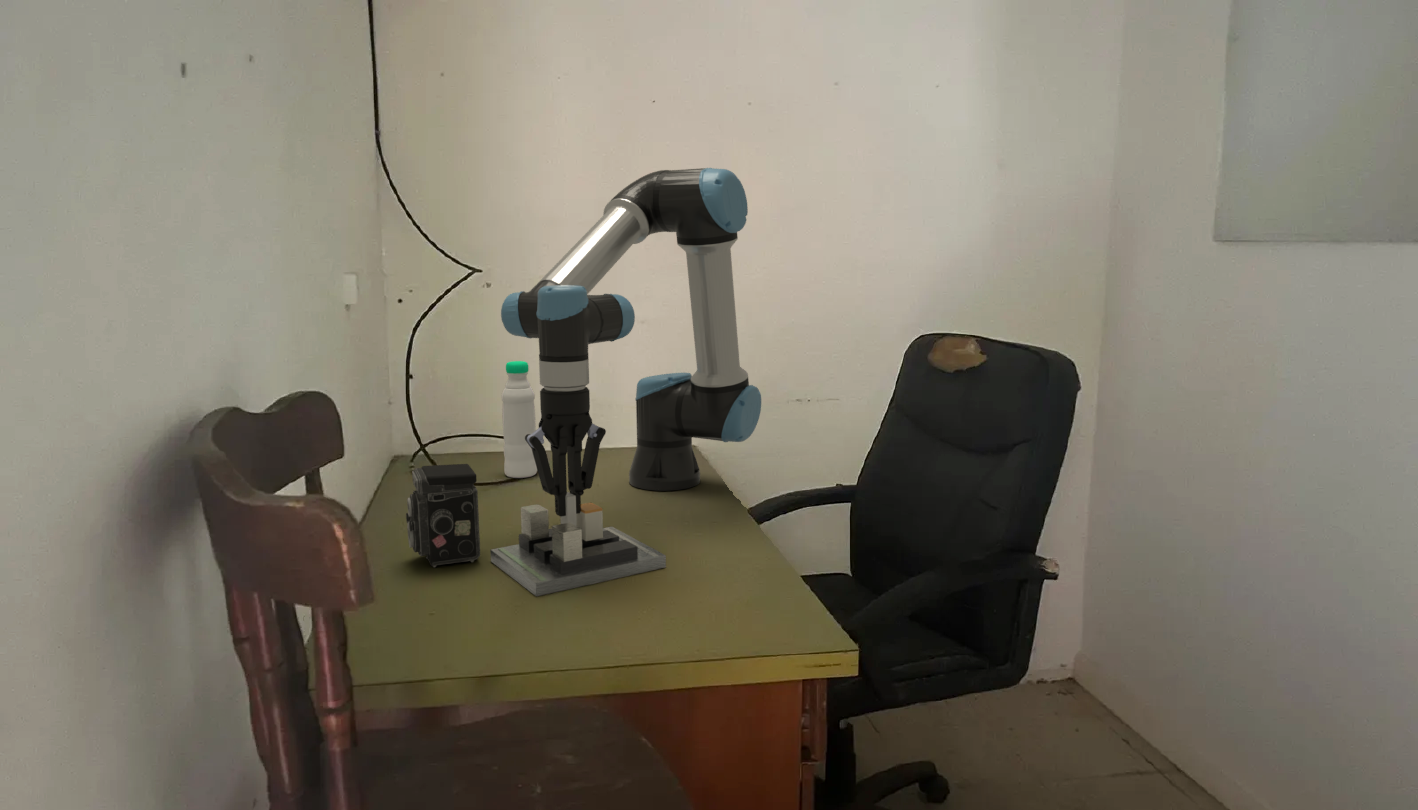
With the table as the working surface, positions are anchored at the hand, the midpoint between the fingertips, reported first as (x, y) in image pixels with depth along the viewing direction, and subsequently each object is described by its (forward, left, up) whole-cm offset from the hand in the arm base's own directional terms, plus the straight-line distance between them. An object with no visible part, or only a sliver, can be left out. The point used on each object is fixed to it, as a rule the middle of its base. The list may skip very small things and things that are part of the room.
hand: (568, 534), depth 148 cm
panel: (-1, 0, -5) cm, 5 cm away
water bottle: (-16, -59, -5) cm, 61 cm away
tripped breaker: (-3, 0, -1) cm, 4 cm away
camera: (+16, -14, -6) cm, 22 cm away
